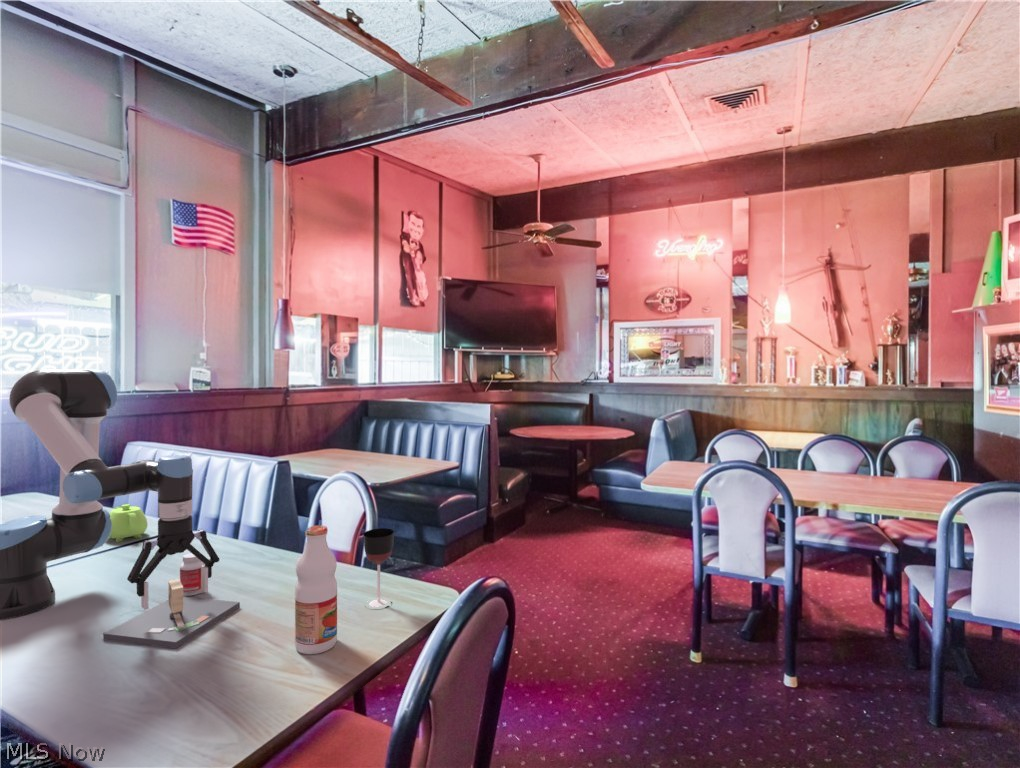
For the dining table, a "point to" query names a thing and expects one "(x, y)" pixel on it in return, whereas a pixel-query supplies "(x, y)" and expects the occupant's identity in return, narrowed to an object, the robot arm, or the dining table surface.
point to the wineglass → (378, 553)
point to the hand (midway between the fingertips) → (175, 599)
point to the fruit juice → (316, 595)
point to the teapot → (127, 522)
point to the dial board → (171, 623)
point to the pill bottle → (191, 575)
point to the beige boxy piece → (176, 601)
